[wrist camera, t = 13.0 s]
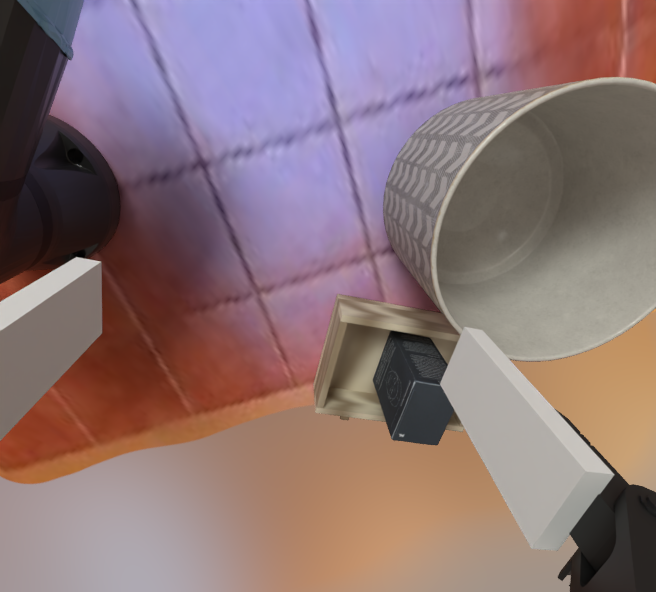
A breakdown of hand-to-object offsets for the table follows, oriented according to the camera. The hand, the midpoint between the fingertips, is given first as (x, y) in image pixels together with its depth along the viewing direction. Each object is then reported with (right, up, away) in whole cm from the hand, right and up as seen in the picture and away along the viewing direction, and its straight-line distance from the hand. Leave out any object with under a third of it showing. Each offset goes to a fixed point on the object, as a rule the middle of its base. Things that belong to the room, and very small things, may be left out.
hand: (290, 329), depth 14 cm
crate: (+10, -6, +35) cm, 37 cm away
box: (+11, -7, +35) cm, 37 cm away
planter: (+16, +12, +28) cm, 34 cm away
